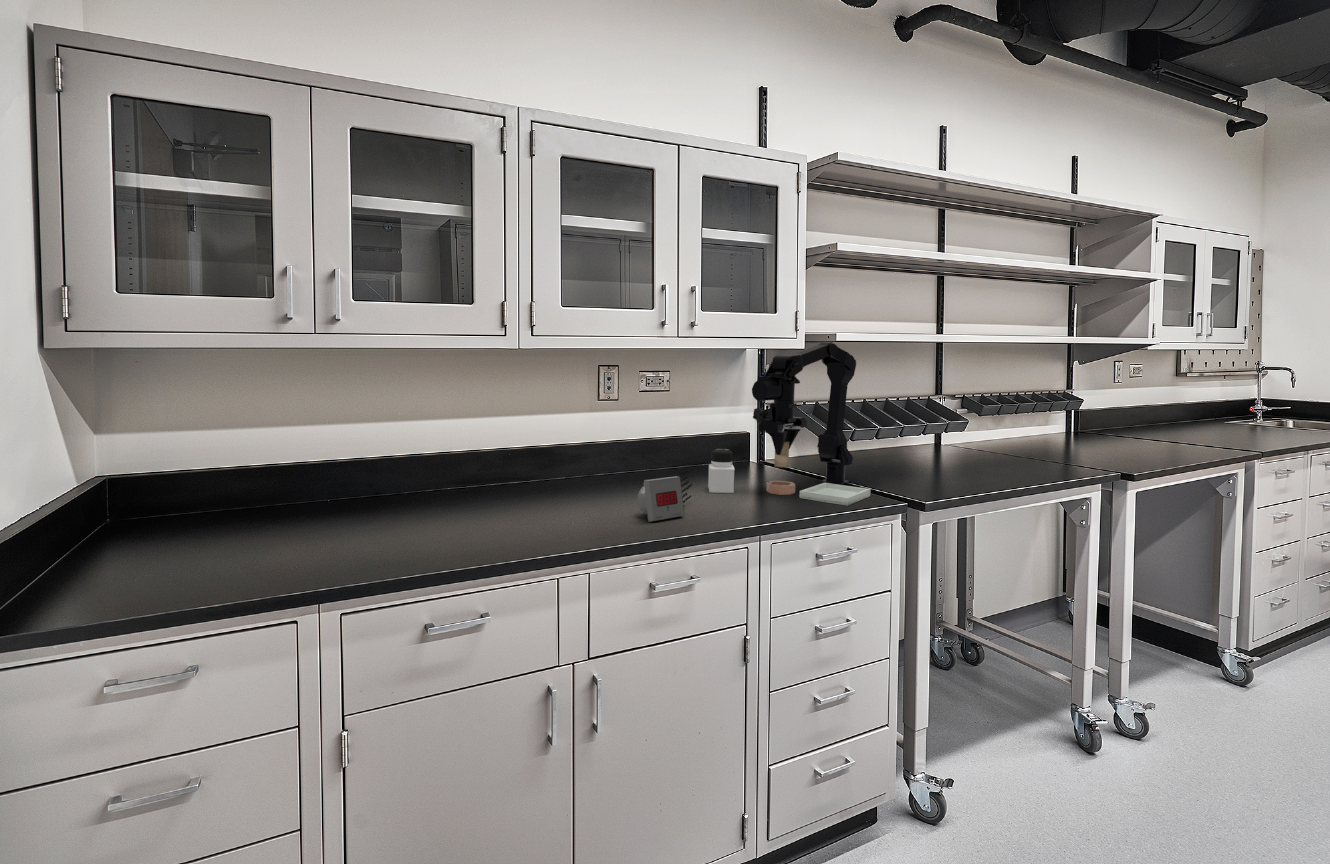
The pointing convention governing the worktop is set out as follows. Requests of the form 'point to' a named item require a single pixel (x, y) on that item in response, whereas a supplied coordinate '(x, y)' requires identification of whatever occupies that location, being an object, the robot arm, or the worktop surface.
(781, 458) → the dowel
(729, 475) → the medicine bottle
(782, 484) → the cup ring
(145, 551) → the worktop surface
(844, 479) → the robot arm
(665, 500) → the voltmeter
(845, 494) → the tray
